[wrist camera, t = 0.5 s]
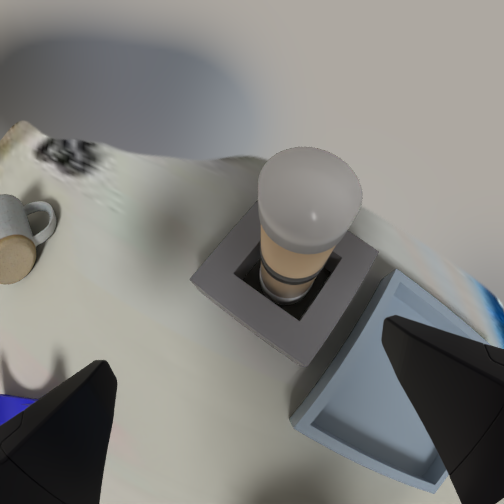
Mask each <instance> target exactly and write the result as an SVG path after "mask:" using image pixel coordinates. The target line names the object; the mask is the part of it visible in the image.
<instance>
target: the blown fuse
mask: <svg viewBox="0 0 504 504" xmlns="http://www.w3.org/2000/svg"><path fill="white" fill-rule="evenodd" d="M361 204H362V189H361V185H360V182H359V179H358V178H357V176H356V174H355V172H354V171H353V170H352V169H351V167H350V166H349V165H348V164H347V163H346V162H344V161H343V160H342V159H341V158H339V157H337V156H336V155H334V154H332V153H330V152H327V151H325V150H321V149H318V148H312V147H295V148H290V149H286V150H284V151H281V152H279V153H277V154H276V155H274V156H273V157H271V158H270V159H269V160H268V161H267V162H266V163H265V164H264V166H263V168H262V169H261V172H260V174H259V178H258V212H259V219H260V223H261V240H260V258H261V266H260V286H261V289H262V291H263V293H264V294H265V296H266V297H267V298H268V299H270V300H271V301H273V302H275V303H277V304H281V305H290V304H294V303H297V302H299V301H300V300H302V299H303V298H304V297H305V295H306V294H307V293H308V291H309V290H310V288H311V287H312V285H313V282H314V280H315V278H316V277H317V275H318V274H319V273H320V272H321V270H322V269H323V267H324V266H325V264H326V262H327V260H328V257H329V256H330V254H331V253H332V251H333V249H334V248H335V246H336V245H337V244H338V243H339V242H340V241H341V240H342V238H343V237H344V235H345V234H346V232H347V231H348V229H349V227H350V226H351V224H352V222H353V221H354V219H355V217H356V216H357V214H358V212H359V210H360V207H361Z"/></svg>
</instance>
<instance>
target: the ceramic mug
mask: <svg viewBox="0 0 504 504" xmlns="http://www.w3.org/2000/svg"><path fill="white" fill-rule="evenodd" d="M37 211H47V212H48V213H49V215H50V220H49V224H48V226H47V227H46V228H45V229H44V230H42V231H41V232H40V233H38V234H36V235H35V236H33V234H32V231H31V228H30V225H29V222H28V218H27V215H29V214H31V213H34V212H37ZM56 222H57V221H56V216H55V213H54V210H53V207H52V206H51V205H50V204H49V203H47V202H44V201H36V202H31V203H29V204H26V205H24V206H23V204H22V203H21V201H20V200H19V199H18V198H16V197H15V196H12V195H7V194H2V195H0V284H13V283H16V282H18V281H20V280H21V279H23V278H24V277H25V276H26V275H27V274H28V273H29V272H30V271H31V269H32V267H33V265H34V263H35V260H36V246H37V245H39V244H41V243H43V242H44V241H46V240H47V239H48V238H49V237H50V236H51V235H52V233H53V232H54V230H55V227H56Z"/></svg>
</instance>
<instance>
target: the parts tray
mask: <svg viewBox="0 0 504 504" xmlns="http://www.w3.org/2000/svg"><path fill="white" fill-rule="evenodd" d="M393 315H398V316H401V317H404V318H407V319H410V320H413V321H416V322H419V323H422V324H425V325H429V326H432V327H435V328H438V329H441V330H444V331H447V332H450V333H453V334H456V335H459V336H462V337H466V338H469V339H472V340H475V341H478V342H481V343H483V344H488V345H490V344H489V343H488V342H487V341H486V340H484V339H483V338H482V337H481V336H480V335H479V334H478V333H477V332H475V331H474V330H473V329H472V328H471V327H470V326H469V325H467V324H466V323H465V322H464V321H463V320H461V319H460V318H459V317H458V316H457V315H455V314H454V313H453V312H452V311H451V310H449V309H448V308H447V307H446V306H444V305H443V304H442V303H441V302H440V301H438V300H437V299H436V298H435V297H433V296H432V295H431V294H429V293H428V292H427V291H426V290H424V289H423V288H422V287H420V286H419V285H418V284H416V283H415V282H414V281H413V280H411V279H410V278H409V277H407V276H406V275H405V274H403V273H402V272H400V271H399V270H398V269H395V270H394V271H392V272H391V273H390V274H388V275H387V276H386V277H385V278H383V279H382V280H381V282H380V284H379V286H378V288H377V289H376V291H375V293H374V295H373V297H372V298H371V300H370V302H369V304H368V305H367V307H366V309H365V311H364V312H363V314H362V316H361V317H360V319H359V321H358V322H357V324H356V326H355V327H354V329H353V331H352V332H351V334H350V335H349V337H348V339H347V340H346V342H345V343H344V345H343V346H342V348H341V349H340V351H339V352H338V354H337V355H336V357H335V358H334V360H333V361H332V363H331V364H330V366H329V367H328V368H327V370H326V371H325V373H324V374H323V376H322V377H321V378H320V380H319V381H318V382H317V384H316V385H315V387H314V388H313V389H312V391H311V392H310V393H309V395H308V396H307V397H306V398H305V400H304V401H303V402H302V404H301V405H300V406H299V407H298V409H297V410H296V411H295V412H294V414H293V415H292V416H291V417H290V419H289V420H290V422H291V424H292V426H293V428H294V429H296V430H297V431H299V432H301V433H302V434H304V435H306V436H307V437H309V438H311V439H313V440H314V441H316V442H318V443H320V444H321V445H323V446H325V447H327V448H329V449H330V450H332V451H334V452H336V453H338V454H340V455H342V456H344V457H346V458H348V459H350V460H352V461H354V462H356V463H358V464H360V465H362V466H364V467H366V468H369V469H371V470H373V471H375V472H378V473H380V474H382V475H384V476H387V477H389V478H392V479H394V480H397V481H399V482H402V483H404V484H407V485H410V486H412V487H415V488H418V489H421V490H424V491H427V492H430V493H433V494H435V492H436V491H437V490H438V488H439V487H440V486H441V484H442V483H443V482H444V480H445V479H446V478H447V476H448V475H449V474H448V472H447V470H446V468H445V466H444V464H443V462H442V460H441V458H440V456H439V454H438V452H437V450H436V448H435V446H434V444H433V442H432V440H431V438H430V436H429V434H428V433H427V431H426V429H425V427H424V425H423V423H422V421H421V420H420V418H419V416H418V414H417V412H416V411H415V409H414V407H413V405H412V403H411V402H410V400H409V398H408V396H407V395H406V393H405V391H404V389H403V388H402V386H401V384H400V382H399V381H398V378H397V376H396V374H395V372H394V370H393V367H392V365H391V363H390V361H389V358H388V356H387V354H386V352H385V350H384V348H383V345H382V341H381V337H382V329H383V322H384V319H385V318H386V317H389V316H393Z"/></svg>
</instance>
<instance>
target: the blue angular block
mask: <svg viewBox="0 0 504 504" xmlns="http://www.w3.org/2000/svg"><path fill="white" fill-rule="evenodd" d="M37 400H38V399H31V398H24V397H17V396H11V395H6V394H0V425H2V424H3V423H5V422H7V421H8V420H10V419H11V418H13V417H14V416H16V415H17V414H19V413H20V412H21V411H24V410H25V409H26V408H27V407H29V406H30V405H32V404H33V403H34V402H36V401H37Z"/></svg>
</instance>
